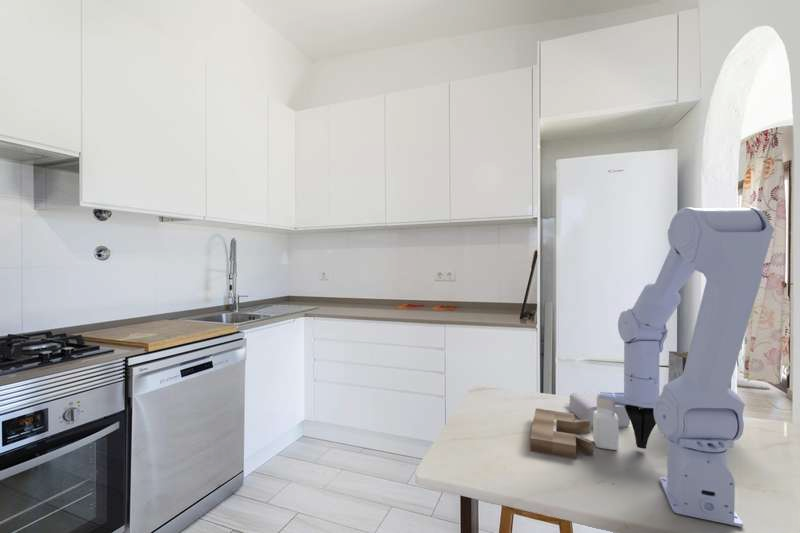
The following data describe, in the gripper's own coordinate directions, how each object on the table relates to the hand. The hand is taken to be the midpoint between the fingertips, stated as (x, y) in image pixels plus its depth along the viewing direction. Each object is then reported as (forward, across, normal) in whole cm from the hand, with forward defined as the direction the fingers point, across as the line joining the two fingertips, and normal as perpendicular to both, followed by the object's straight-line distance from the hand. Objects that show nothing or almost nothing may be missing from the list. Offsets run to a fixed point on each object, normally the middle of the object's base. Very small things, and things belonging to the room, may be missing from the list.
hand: (640, 445), depth 74 cm
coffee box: (+1, -13, -16) cm, 21 cm away
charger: (+2, +8, -17) cm, 18 cm away
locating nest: (+1, +14, 0) cm, 14 cm away
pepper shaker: (+1, +6, 0) cm, 6 cm away
